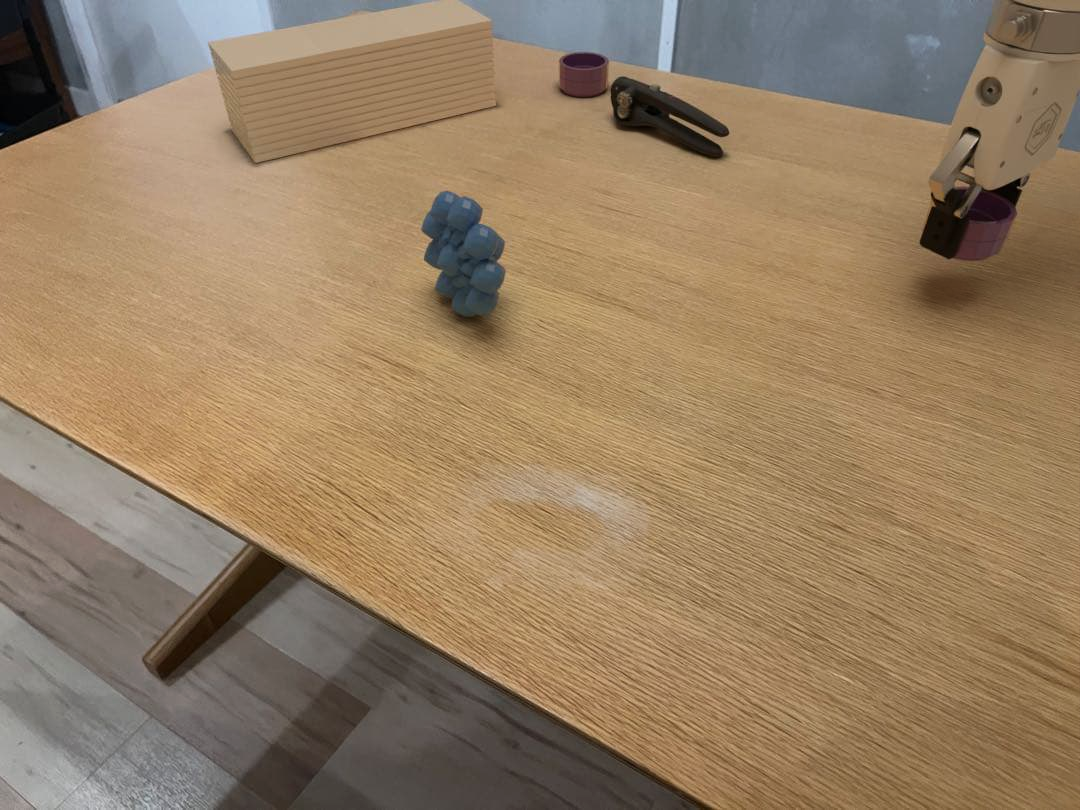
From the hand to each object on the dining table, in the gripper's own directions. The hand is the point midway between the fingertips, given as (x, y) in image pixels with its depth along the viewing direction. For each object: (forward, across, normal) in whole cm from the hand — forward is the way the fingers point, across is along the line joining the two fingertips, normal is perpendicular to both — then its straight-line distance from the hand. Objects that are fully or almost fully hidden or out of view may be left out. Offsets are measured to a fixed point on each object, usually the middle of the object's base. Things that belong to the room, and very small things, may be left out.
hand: (962, 236), depth 72 cm
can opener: (+6, +2, +40) cm, 41 cm away
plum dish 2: (+1, 0, 0) cm, 1 cm away
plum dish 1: (+6, +4, +58) cm, 58 cm away
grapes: (+6, -36, +23) cm, 43 cm away
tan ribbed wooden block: (+6, -24, +67) cm, 72 cm away
